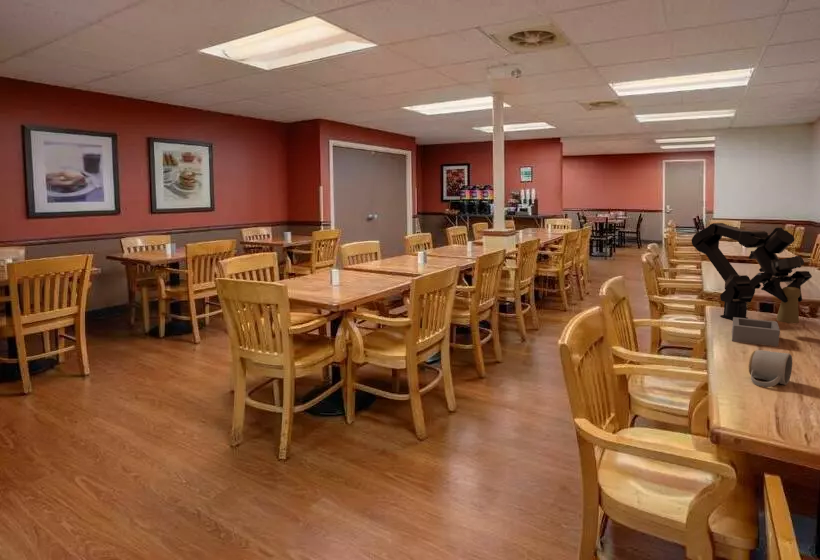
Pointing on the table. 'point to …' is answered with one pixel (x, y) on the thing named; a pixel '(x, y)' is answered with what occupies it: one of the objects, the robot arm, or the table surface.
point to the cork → (789, 306)
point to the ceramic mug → (770, 367)
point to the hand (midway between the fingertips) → (793, 301)
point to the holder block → (755, 331)
